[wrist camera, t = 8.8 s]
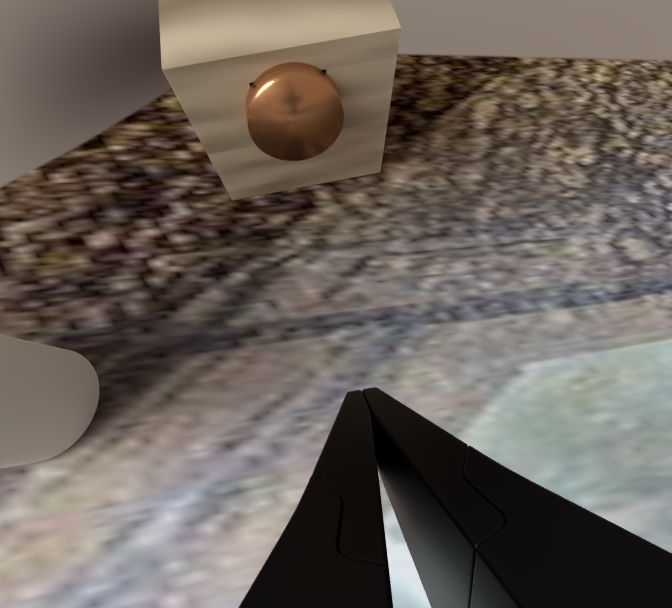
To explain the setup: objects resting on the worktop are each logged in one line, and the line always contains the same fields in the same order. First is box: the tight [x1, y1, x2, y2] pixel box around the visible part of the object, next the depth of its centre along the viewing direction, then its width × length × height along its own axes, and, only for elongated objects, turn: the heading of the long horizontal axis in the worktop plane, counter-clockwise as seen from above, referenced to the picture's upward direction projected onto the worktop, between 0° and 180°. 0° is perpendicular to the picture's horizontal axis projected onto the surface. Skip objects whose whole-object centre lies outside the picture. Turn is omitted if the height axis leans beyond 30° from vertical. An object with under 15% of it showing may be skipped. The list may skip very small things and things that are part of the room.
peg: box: [245, 62, 344, 161], centre depth 21 cm, size 9×6×6 cm, turn 11°
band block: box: [158, 0, 401, 200], centre depth 23 cm, size 8×12×10 cm, turn 101°
